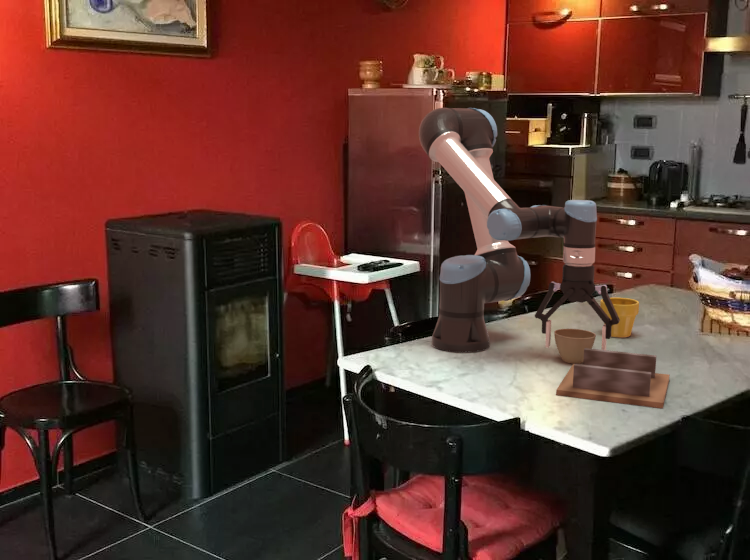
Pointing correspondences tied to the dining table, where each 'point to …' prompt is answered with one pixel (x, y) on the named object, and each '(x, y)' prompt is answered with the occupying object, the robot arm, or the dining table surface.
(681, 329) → the dining table surface
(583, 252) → the robot arm
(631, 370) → the cup cradle
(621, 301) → the plant pot
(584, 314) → the dining table surface
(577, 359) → the flower pot
